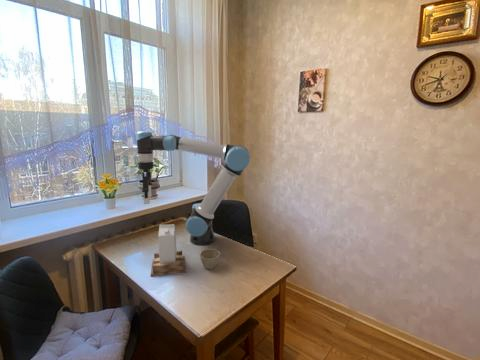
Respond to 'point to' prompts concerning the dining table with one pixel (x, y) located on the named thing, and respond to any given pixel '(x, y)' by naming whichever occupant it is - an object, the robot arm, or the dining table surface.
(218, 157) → the robot arm
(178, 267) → the display stand
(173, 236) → the milk carton
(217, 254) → the flower pot
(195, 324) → the dining table surface
